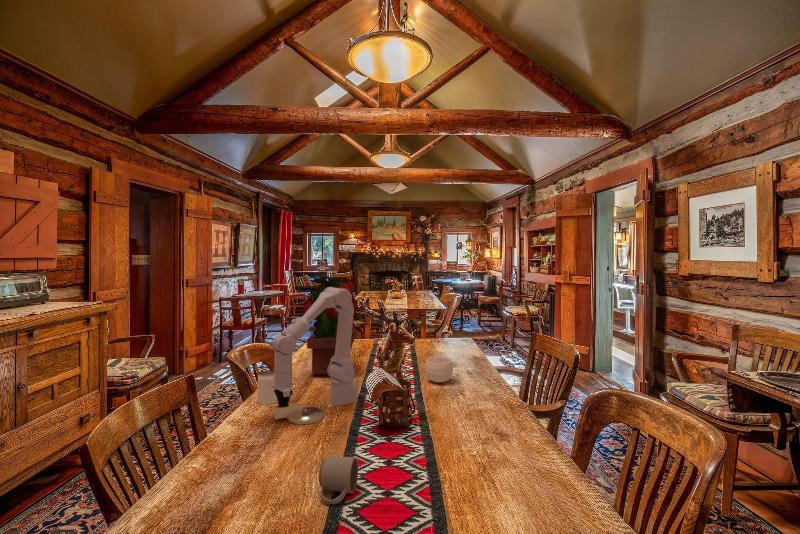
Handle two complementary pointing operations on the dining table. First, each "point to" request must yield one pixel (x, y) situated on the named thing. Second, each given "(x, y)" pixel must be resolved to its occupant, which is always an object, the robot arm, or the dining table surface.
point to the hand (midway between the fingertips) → (283, 411)
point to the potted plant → (326, 324)
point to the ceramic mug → (338, 476)
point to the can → (266, 388)
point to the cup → (439, 369)
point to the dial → (299, 414)
